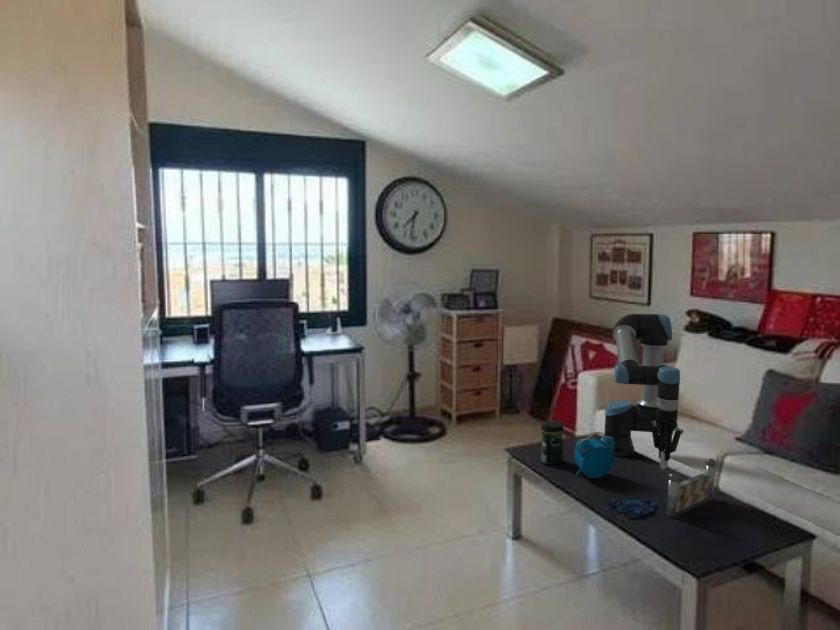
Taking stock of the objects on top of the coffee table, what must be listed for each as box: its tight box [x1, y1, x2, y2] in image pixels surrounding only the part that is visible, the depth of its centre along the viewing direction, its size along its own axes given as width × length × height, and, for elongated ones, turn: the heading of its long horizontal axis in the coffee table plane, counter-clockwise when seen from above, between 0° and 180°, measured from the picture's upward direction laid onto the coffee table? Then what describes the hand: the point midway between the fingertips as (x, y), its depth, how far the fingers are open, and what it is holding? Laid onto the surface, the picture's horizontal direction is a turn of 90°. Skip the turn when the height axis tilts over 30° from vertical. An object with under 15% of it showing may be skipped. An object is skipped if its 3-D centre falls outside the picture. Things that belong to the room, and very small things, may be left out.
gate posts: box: [666, 458, 717, 519], centre depth 211 cm, size 27×3×16 cm, turn 124°
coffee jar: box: [539, 420, 564, 466], centre depth 255 cm, size 10×8×19 cm
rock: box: [607, 498, 656, 520], centre depth 211 cm, size 15×17×2 cm
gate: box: [676, 472, 710, 513], centre depth 210 cm, size 20×3×9 cm, turn 124°
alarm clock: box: [573, 431, 615, 479], centre depth 239 cm, size 17×10×20 cm, turn 105°
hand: (663, 467), depth 221 cm, fingers closed
